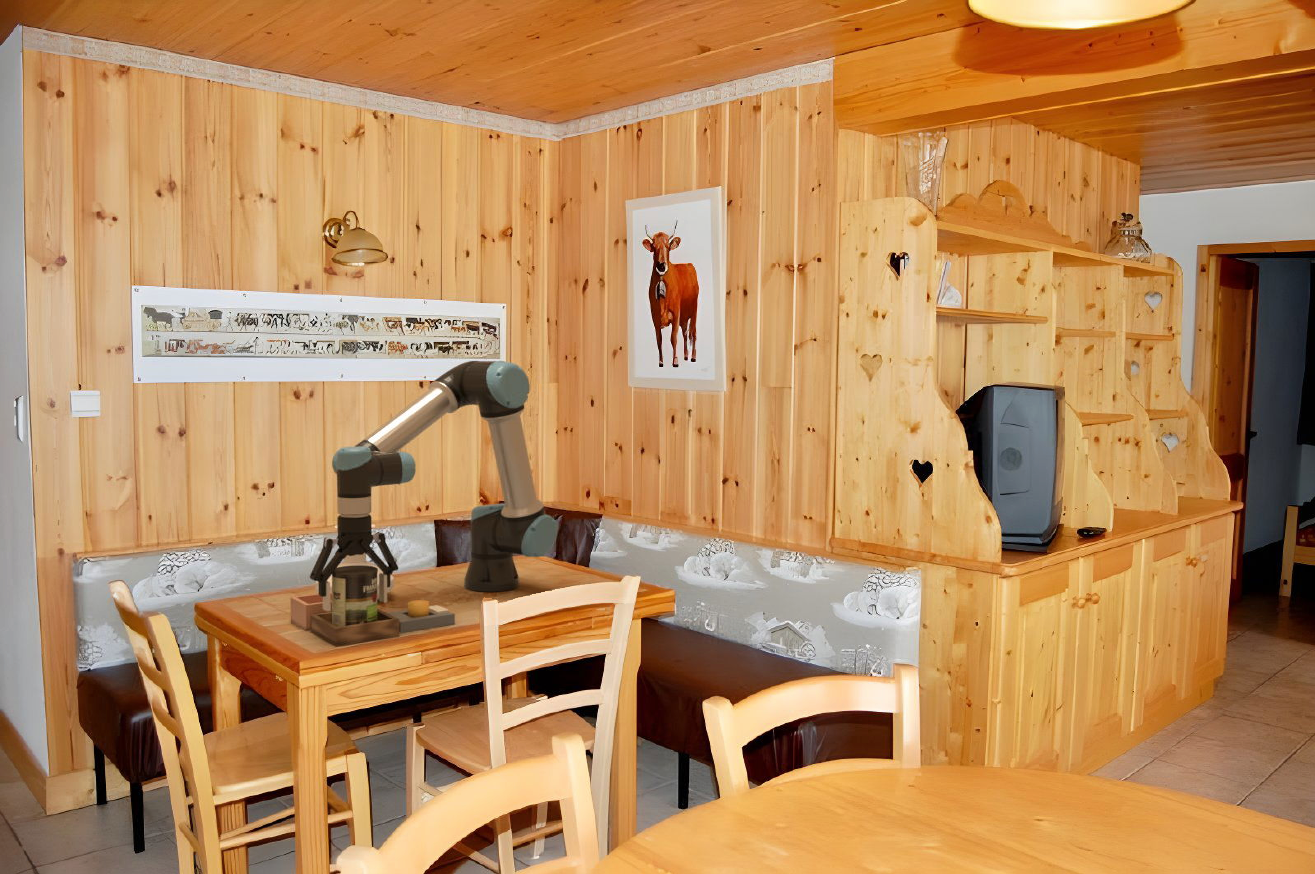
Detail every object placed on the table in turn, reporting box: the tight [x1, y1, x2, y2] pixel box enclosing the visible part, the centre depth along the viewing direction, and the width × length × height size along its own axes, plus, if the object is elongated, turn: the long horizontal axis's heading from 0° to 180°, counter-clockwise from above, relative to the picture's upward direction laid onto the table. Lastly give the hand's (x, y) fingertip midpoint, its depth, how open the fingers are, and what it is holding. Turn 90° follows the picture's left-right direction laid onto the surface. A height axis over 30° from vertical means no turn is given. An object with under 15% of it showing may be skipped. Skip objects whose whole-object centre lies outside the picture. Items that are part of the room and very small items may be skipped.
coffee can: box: [332, 565, 378, 627], centre depth 241 cm, size 10×10×14 cm
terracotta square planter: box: [290, 592, 332, 632], centre depth 251 cm, size 10×10×6 cm
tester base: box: [386, 604, 456, 634], centre depth 252 cm, size 14×10×3 cm
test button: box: [407, 599, 430, 618], centre depth 252 cm, size 5×5×4 cm
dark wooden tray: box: [310, 608, 400, 647], centre depth 242 cm, size 15×15×4 cm
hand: (355, 605), depth 242 cm, fingers open, 13 cm apart
